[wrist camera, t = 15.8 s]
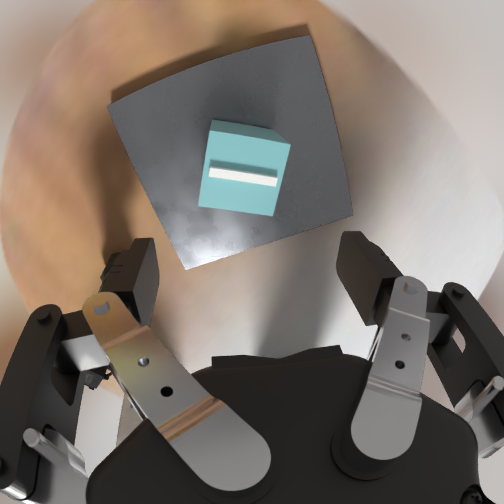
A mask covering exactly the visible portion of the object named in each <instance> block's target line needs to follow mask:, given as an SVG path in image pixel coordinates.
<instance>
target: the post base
mask: <svg viewBox="0 0 504 504" xmlns="http://www.w3.org/2000/svg"><path fill="white" fill-rule="evenodd" d="M107 108H108V110H109V113H110V115H111V118H112V120H113V122H114V125H115V127H116V129H117V131H118V134H119V136H120V138H121V141H122V143H123V145H124V147H125V149H126V152H127V154H128V156H129V158H130V160H131V163H132V165H133V167H134V169H135V171H136V173H137V175H138V178H139V180H140V182H141V184H142V186H143V188H144V190H145V192H146V194H147V196H148V198H149V200H150V202H151V204H152V206H153V208H154V210H155V212H156V214H157V216H158V218H159V220H160V222H161V224H162V226H163V228H164V230H165V232H166V234H167V236H168V238H169V240H170V241H171V243H172V245H173V247H174V249H175V251H176V253H177V255H178V256H179V258H180V260H181V262H182V264H183V266H184V268H185V269H186V270H188V269H191V268H194V267H197V266H200V265H203V264H206V263H209V262H212V261H215V260H218V259H221V258H224V257H227V256H230V255H233V254H236V253H239V252H242V251H245V250H248V249H251V248H254V247H257V246H260V245H264V244H267V243H270V242H273V241H276V240H279V239H282V238H285V237H288V236H291V235H294V234H297V233H300V232H303V231H306V230H309V229H312V228H315V227H319V226H322V225H325V224H328V223H331V222H334V221H337V220H340V219H343V218H346V217H349V216H352V215H353V210H352V204H351V198H350V192H349V186H348V181H347V176H346V170H345V165H344V160H343V155H342V151H341V146H340V141H339V137H338V132H337V128H336V124H335V120H334V116H333V112H332V108H331V104H330V100H329V96H328V92H327V89H326V85H325V82H324V78H323V75H322V71H321V68H320V65H319V61H318V58H317V55H316V52H315V49H314V45H313V42H312V39H311V36H310V35H307V36H302V37H296V38H291V39H286V40H282V41H277V42H273V43H269V44H265V45H261V46H257V47H253V48H249V49H246V50H242V51H239V52H236V53H232V54H229V55H226V56H223V57H220V58H216V59H214V60H211V61H208V62H205V63H202V64H199V65H196V66H194V67H191V68H188V69H186V70H183V71H181V72H178V73H176V74H173V75H171V76H169V77H166V78H164V79H162V80H159V81H157V82H155V83H152V84H150V85H148V86H146V87H144V88H142V89H140V90H137V91H135V92H133V93H131V94H129V95H127V96H125V97H123V98H121V99H119V100H118V101H116V102H114V103H112V104H110V105H108V106H107ZM212 120H219V121H226V122H232V123H238V124H244V125H250V126H256V127H261V128H266V129H271V130H275V131H276V132H277V133H278V134H279V135H281V136H282V137H283V138H284V139H285V140H286V141H287V142H288V143H290V144H291V146H290V150H289V154H288V158H287V162H286V166H285V170H284V174H283V178H282V182H281V186H280V190H279V194H278V198H277V202H276V206H275V210H274V213H273V216H268V215H261V214H254V213H246V212H239V211H232V210H224V209H217V208H209V207H201V206H198V203H199V195H200V188H201V181H202V175H203V168H204V162H205V155H206V149H207V143H208V137H209V131H210V126H211V122H212Z"/></svg>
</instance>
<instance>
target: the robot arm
mask: <svg viewBox="0 0 504 504" xmlns="http://www.w3.org/2000/svg"><path fill="white" fill-rule="evenodd" d="M336 269H337V274H338V276H339V278H340V280H341V282H342V283H343V285H344V287H345V289H346V291H347V292H348V294H349V296H350V298H351V299H352V301H353V303H354V305H355V307H356V309H357V310H358V312H359V314H360V316H361V318H362V320H363V322H364V323H365V325H366V326H370V325H376V324H377V326H378V328H377V331H376V333H375V336H374V339H373V342H372V345H371V348H370V351H369V354H368V356H367V359H364V358H361V357H358V356H354V355H349V354H343V353H342V350H341V348H340V345H335V346H328V347H320V348H312V349H308V350H305V351H302V352H299V353H296V354H293V355H290V356H287V357H284V358H281V359H275V358H266V357H257V356H249V355H234V356H213V357H212V366H210V367H206V368H204V369H201V370H198V371H196V372H194V373H192V374H190V373H189V372H188V371H187V370H186V369H185V368H184V367H183V366H182V365H181V364H180V362H179V361H178V360H177V359H176V358H175V357H174V356H173V355H172V354H171V352H170V351H169V350H168V349H167V348H166V347H165V346H164V344H163V343H162V342H161V341H160V340H159V339H158V337H157V336H156V335H155V334H154V333H153V331H152V330H151V329H150V325H151V320H152V315H153V310H154V305H155V300H156V296H157V291H158V286H159V267H158V261H157V256H156V249H155V243H154V239H153V238H136V239H135V240H134V242H133V244H132V246H131V248H130V250H128V251H123V252H122V253H121V254H120V255H118V256H117V257H116V259H115V261H114V263H113V265H112V267H111V269H110V271H109V273H108V276H107V278H106V280H105V282H104V284H103V287H102V289H101V291H100V293H97V294H94V295H92V296H91V297H89V298H88V299H87V300H86V301H85V302H84V304H83V306H82V310H80V311H76V312H72V313H68V314H62V312H61V309H60V308H59V307H58V306H57V305H54V304H47V305H44V306H41V307H39V308H37V309H36V310H35V311H34V312H33V313H32V314H31V315H30V317H29V319H28V321H27V323H26V325H25V327H24V329H23V331H22V334H21V336H20V338H19V340H18V342H17V345H16V347H15V349H14V352H13V354H12V357H11V359H10V361H9V364H8V366H7V369H6V372H5V374H4V377H3V380H2V382H1V385H0V492H2V493H4V494H6V495H7V496H8V497H10V498H11V499H13V500H15V501H17V502H19V503H21V504H495V503H494V502H492V501H491V500H490V499H488V498H487V497H486V496H485V495H484V493H483V491H482V489H481V487H480V483H479V475H478V457H480V458H487V457H489V456H491V455H492V454H494V453H495V452H496V451H497V450H499V449H500V448H501V447H503V446H504V336H503V335H502V333H501V332H500V331H499V329H498V328H497V327H496V325H495V324H494V322H493V321H492V320H491V318H490V317H489V316H488V314H487V313H486V312H485V311H484V309H483V308H482V307H481V306H480V304H479V303H478V302H477V300H476V299H475V298H474V297H473V295H472V294H471V293H470V292H469V291H468V290H467V289H466V288H465V287H464V286H462V285H460V284H458V283H454V282H449V283H446V284H445V285H444V287H443V289H442V292H441V293H440V292H432V291H427V288H426V286H425V285H424V284H423V283H422V282H421V281H420V280H418V279H416V278H414V277H410V276H403V274H402V273H401V272H400V271H399V269H398V268H397V267H396V266H395V265H394V263H393V262H392V261H390V259H389V257H388V256H387V255H386V254H385V253H384V252H383V250H382V249H381V248H380V247H379V246H377V245H375V244H374V243H372V242H369V240H368V239H367V238H366V237H365V236H364V235H363V233H362V232H361V231H344V232H343V233H342V236H341V241H340V247H339V252H338V257H337V262H336ZM457 328H458V329H459V331H460V332H461V334H462V335H463V337H464V339H465V342H466V345H465V349H464V351H463V353H462V352H461V350H460V349H459V347H458V345H457V344H456V342H455V341H454V339H453V337H452V336H453V335H454V333H455V331H456V329H457ZM426 354H427V355H428V357H429V359H430V361H431V362H432V365H433V366H434V368H435V370H436V372H437V374H438V376H439V378H440V380H441V382H442V384H443V386H444V388H445V390H446V392H447V394H448V397H449V399H450V401H451V403H452V405H453V407H454V412H452V411H451V410H449V409H447V408H445V407H444V406H442V405H441V404H439V403H437V402H436V401H434V400H432V399H431V398H429V397H427V396H426V395H424V394H422V393H421V392H420V390H421V385H422V379H423V373H424V367H425V361H426ZM106 365H107V366H108V368H109V369H110V371H111V373H112V374H113V376H114V378H115V379H116V381H117V382H118V384H119V386H120V387H121V389H122V390H123V392H124V393H125V395H126V396H127V398H128V400H129V401H130V403H131V404H132V406H133V407H134V409H135V410H136V412H137V413H138V415H139V416H140V418H141V419H142V422H141V423H140V424H139V425H138V426H137V427H136V428H135V429H134V430H133V431H132V432H131V433H130V434H129V435H128V436H127V437H126V438H125V439H124V440H123V441H122V442H121V443H120V444H119V445H118V446H117V447H116V448H115V449H114V450H113V451H112V452H111V453H110V454H109V455H108V456H107V457H106V458H105V459H104V460H103V461H102V462H101V463H100V464H99V465H98V466H97V467H96V468H95V469H94V471H93V472H92V473H91V475H90V477H89V478H88V476H87V474H86V471H85V462H84V458H83V456H82V454H81V453H80V452H79V450H78V449H76V448H75V447H74V443H75V436H76V429H77V423H78V416H79V411H80V405H81V399H82V394H83V389H84V384H85V380H86V375H87V370H88V369H92V368H97V367H101V366H106Z"/></svg>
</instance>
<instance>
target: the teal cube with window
mask: <svg viewBox="0 0 504 504" xmlns="http://www.w3.org/2000/svg"><path fill="white" fill-rule="evenodd" d="M290 146H291V144H290V143H288V142H287V141H286V140H285V139H284V138H283V137H282V136H281V135H279V134H278V133H277V132H276V131H275V130H271V129H266V128H261V127H256V126H250V125H244V124H238V123H232V122H226V121H219V120H212V122H211V126H210V131H209V137H208V143H207V149H206V155H205V162H204V168H203V175H202V181H201V188H200V195H199V203H198V206H201V207H209V208H217V209H224V210H232V211H239V212H246V213H254V214H261V215H268V216H273V213H274V210H275V206H276V202H277V198H278V194H279V190H280V186H281V182H282V178H283V174H284V170H285V166H286V162H287V158H288V154H289V150H290Z"/></svg>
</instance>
